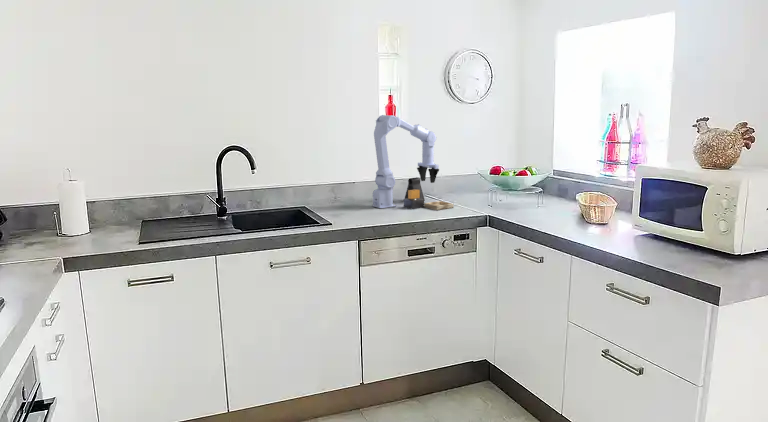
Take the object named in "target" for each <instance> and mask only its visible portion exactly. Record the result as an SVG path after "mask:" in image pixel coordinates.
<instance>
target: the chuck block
mask: <svg viewBox="0 0 768 422" xmlns="http://www.w3.org/2000/svg"><path fill="white" fill-rule="evenodd" d="M424 200H425V198H424V199H420V198H416V200H412V199H409V198H407V199H403V208H405V209H409V210H416V209H423V208H425V207H424V203H425V201H424Z"/></svg>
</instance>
